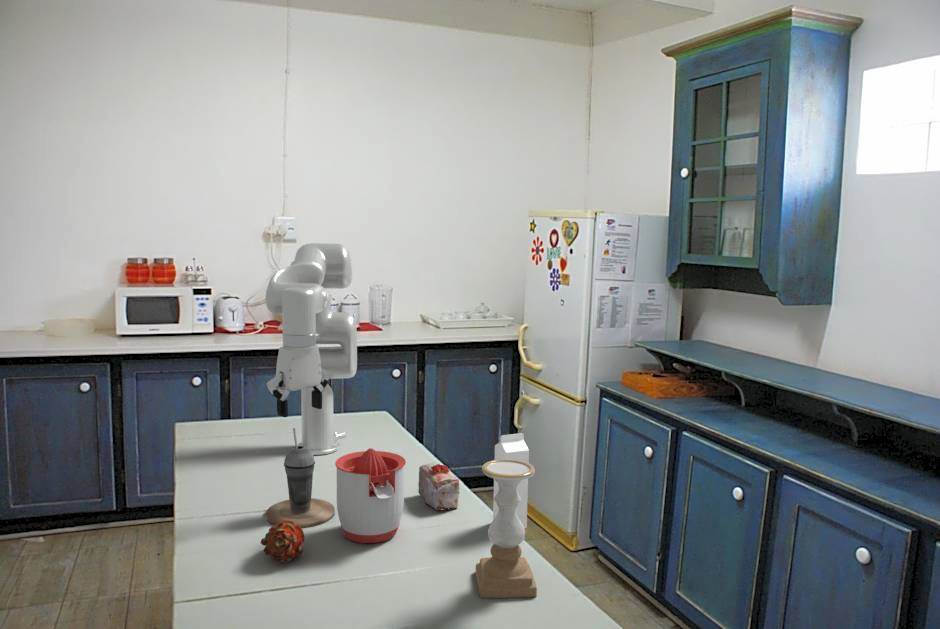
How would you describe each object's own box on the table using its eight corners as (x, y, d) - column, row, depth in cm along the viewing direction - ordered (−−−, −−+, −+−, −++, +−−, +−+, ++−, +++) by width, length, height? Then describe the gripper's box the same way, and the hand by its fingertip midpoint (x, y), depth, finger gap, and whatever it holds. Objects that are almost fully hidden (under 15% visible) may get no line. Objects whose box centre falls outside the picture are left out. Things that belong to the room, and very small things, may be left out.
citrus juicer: (350, 557, 157) (350, 465, 155) (326, 526, 172) (326, 442, 170) (419, 544, 164) (420, 456, 162) (390, 515, 180) (390, 434, 177)
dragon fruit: (284, 579, 150) (278, 562, 162) (318, 550, 153) (309, 535, 164) (257, 548, 149) (252, 533, 160) (292, 519, 151) (285, 506, 162)
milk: (526, 528, 174) (530, 436, 171) (503, 532, 172) (506, 439, 169) (514, 518, 180) (518, 429, 177) (492, 522, 177) (495, 431, 174)
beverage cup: (308, 517, 175) (306, 434, 172) (279, 514, 176) (277, 432, 174) (320, 505, 182) (319, 425, 179) (292, 502, 184) (291, 423, 181)
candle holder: (474, 571, 152) (477, 458, 149) (528, 570, 153) (531, 457, 150) (480, 598, 141) (483, 477, 138) (537, 597, 142) (541, 476, 139)
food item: (463, 510, 184) (464, 471, 183) (433, 515, 181) (434, 475, 180) (441, 491, 196) (442, 455, 195) (413, 495, 193) (413, 459, 192)
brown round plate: (307, 497, 190) (307, 492, 190) (348, 514, 180) (348, 510, 180) (252, 514, 178) (252, 510, 178) (292, 534, 168) (292, 529, 168)
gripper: (319, 334, 183) (319, 402, 185) (257, 342, 170) (259, 415, 172) (339, 338, 178) (339, 408, 180) (277, 347, 165) (278, 422, 168)
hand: (300, 411), depth 176 cm, fingers open, 9 cm apart
